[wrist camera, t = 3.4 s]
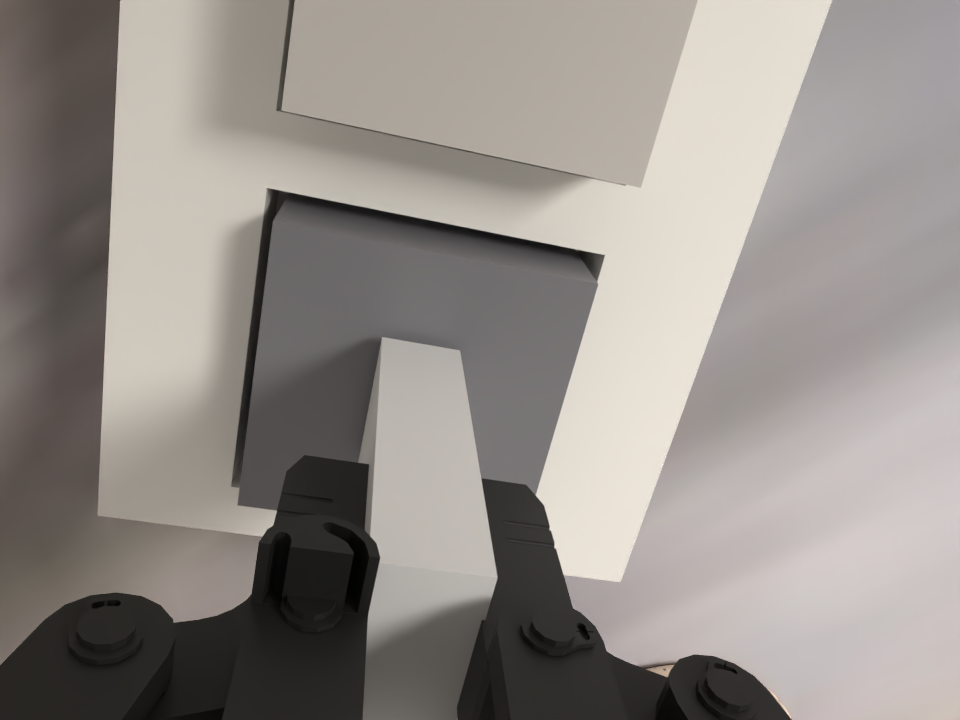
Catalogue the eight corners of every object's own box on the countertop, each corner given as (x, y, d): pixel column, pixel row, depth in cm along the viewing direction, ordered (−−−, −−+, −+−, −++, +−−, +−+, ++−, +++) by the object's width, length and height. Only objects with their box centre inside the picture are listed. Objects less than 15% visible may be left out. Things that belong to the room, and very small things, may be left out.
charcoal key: (568, 239, 18) (598, 283, 15) (505, 468, 20) (521, 543, 17) (294, 184, 17) (272, 221, 14) (260, 432, 19) (237, 505, 16)
